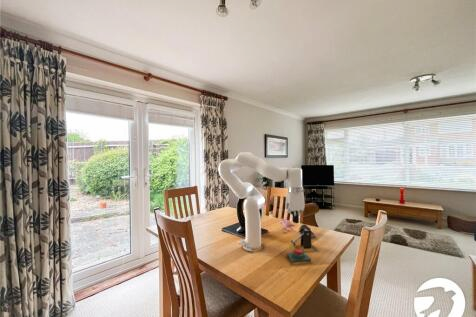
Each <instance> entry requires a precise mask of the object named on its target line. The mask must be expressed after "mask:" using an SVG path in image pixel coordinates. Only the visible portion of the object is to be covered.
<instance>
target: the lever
mask: <svg viewBox="0 0 476 317" xmlns="http://www.w3.org/2000/svg"><path fill="white" fill-rule="evenodd" d="M305 230H307V229H305ZM302 232H303V231H302ZM301 237H303V233H302V234H301V233H300V235H298V236H297V237H296V238H295V239H294V240H290V242H291V244H292V245H293V246H296V245H297V244H296V243H297V242H298V241H299V240H301Z"/></svg>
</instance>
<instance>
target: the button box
mask: <svg viewBox="0 0 476 317" xmlns="http://www.w3.org/2000/svg"><path fill="white" fill-rule="evenodd" d="M286 256H287V257H288V259H289V260H290V261H291V263H302V262H303V263H304V262H312V260H311V258H310V256H308V254H307V253H306V252H305V251H303V250H302V254H301V255H297V254H295V249H294V250H292V251H291V252H288V253H286Z"/></svg>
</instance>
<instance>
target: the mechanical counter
mask: <svg viewBox="0 0 476 317" xmlns="http://www.w3.org/2000/svg"><path fill="white" fill-rule="evenodd" d="M301 228H308V230H311V228H310V227H309V226H308V225H307V224H301V225H300V227H299V228H298V233H301ZM316 238H317V236H316V235H315V233H314V232H313V231H312V230H311V239H316Z"/></svg>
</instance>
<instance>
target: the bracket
mask: <svg viewBox="0 0 476 317" xmlns="http://www.w3.org/2000/svg"><path fill="white" fill-rule="evenodd" d="M305 229H307V230H305ZM302 231H303V232H302ZM311 231H312V230H308V228H301V232H300V235H301V234H302V233H303V237H301V238H300V246H302V247H303V249H305V250H307V249H312V238H311V235H312V233H311Z"/></svg>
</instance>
